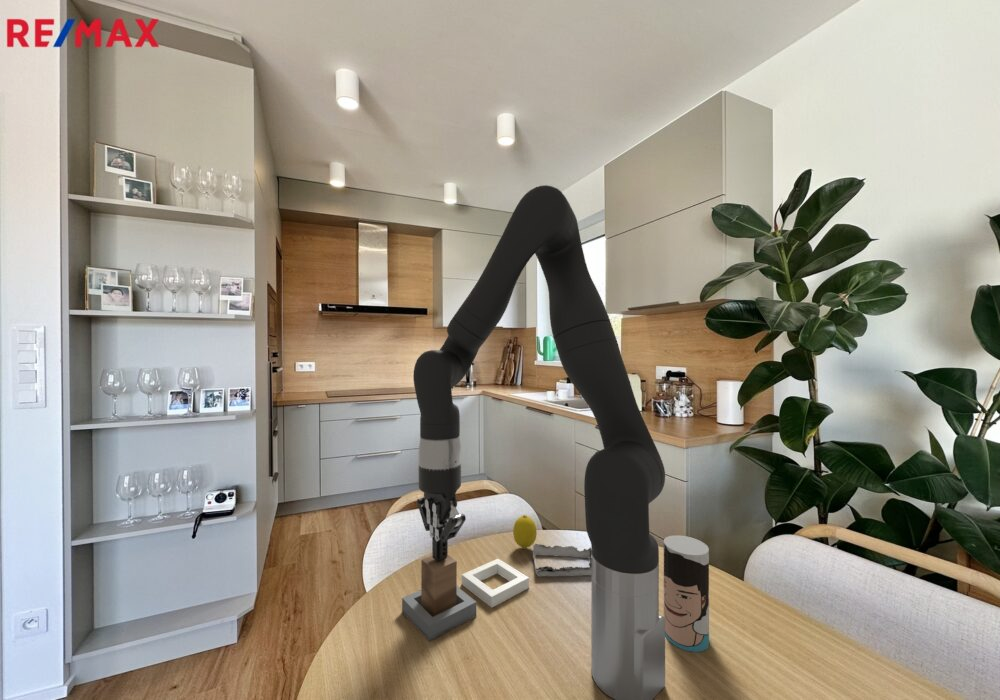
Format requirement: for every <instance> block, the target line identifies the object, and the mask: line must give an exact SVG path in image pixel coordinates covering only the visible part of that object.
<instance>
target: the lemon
mask: <svg viewBox="0 0 1000 700" xmlns="http://www.w3.org/2000/svg"><path fill="white" fill-rule="evenodd" d="M512 528H513V530H512V532H513V534H512V535H513V539H514V541H515V543H516V545H518V546H519V547H521V548H523V550H527V548H530V547H531V546H533V545H534V544H535V541H536V539H537V535H538V534H537V525H536V522H535V520H533V518H532V517H530V516H528V515H526V514H523V515H521V516H519V517H518V518H517V519H516V520H515V522H514V525H513V527H512Z"/></svg>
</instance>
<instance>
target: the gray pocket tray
mask: <svg viewBox="0 0 1000 700" xmlns="http://www.w3.org/2000/svg"><path fill="white" fill-rule="evenodd" d="M401 613H402V614H404V616H405V617H406V618H407V619H408V620H409V621H410V622H411V623H412V624H413V626H414V627H415V628H416V629H417V630H418V631H419V632H420V633H421V634H422V636H423V637H424V638H426V640H427V641H428V642H431V641H433V640H435V639H436V638H438V637H440V636H443V635H444V634H446V633H447V632H449V631H451V630H453V629H455V628H457V627H459V626H461V625H462V624H463V625H464V624H465V623H466V622H468V621H470V620H472V619H473V618H475V617H477V601H476V600H475V599H473V597H471V596H470V595H468V593H466V592H465V591H464V590H462V589H460V587H458V586H457V605H456V606H454V607H452V608H450V609H448V610H446V611H444V612H442V613H440V614H438V615H436V616H434V617H432V616H431V615H430V614H429V613H428V612H427V611H426V610H425V609H424V608H423V607H422V606H421V589H419V590H418V591H415V592H413V593H411V594H408V595H405V596H404V597H402V598H401Z"/></svg>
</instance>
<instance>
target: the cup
mask: <svg viewBox="0 0 1000 700" xmlns="http://www.w3.org/2000/svg"><path fill="white" fill-rule="evenodd" d="M663 617H664V618H665V639H666V640H668V642H670V643H671V644H672V645H673V646H675V647H678V648H679V649H682V650H684V651H687V652H692V653H693V652H694V653H695V652H696V653H698V652H703V651H705V650H707V649H708V648H709V646H710V548H709V546H708V545H707V544H706V543H705V542H703V541H701V540H699V539H697V538H694V537H690V536H687V535H679V534H678V535H669V536H666V537H665V538H664V540H663Z"/></svg>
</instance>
